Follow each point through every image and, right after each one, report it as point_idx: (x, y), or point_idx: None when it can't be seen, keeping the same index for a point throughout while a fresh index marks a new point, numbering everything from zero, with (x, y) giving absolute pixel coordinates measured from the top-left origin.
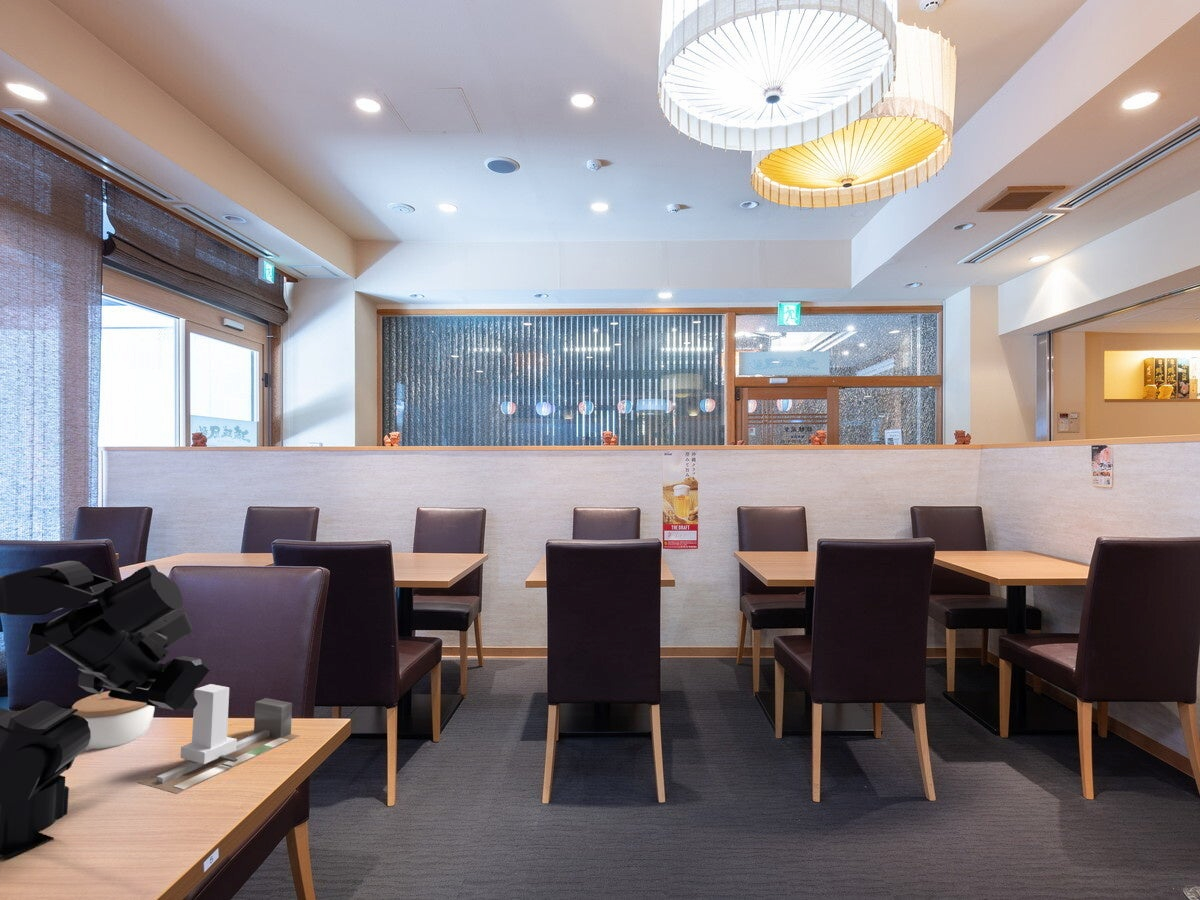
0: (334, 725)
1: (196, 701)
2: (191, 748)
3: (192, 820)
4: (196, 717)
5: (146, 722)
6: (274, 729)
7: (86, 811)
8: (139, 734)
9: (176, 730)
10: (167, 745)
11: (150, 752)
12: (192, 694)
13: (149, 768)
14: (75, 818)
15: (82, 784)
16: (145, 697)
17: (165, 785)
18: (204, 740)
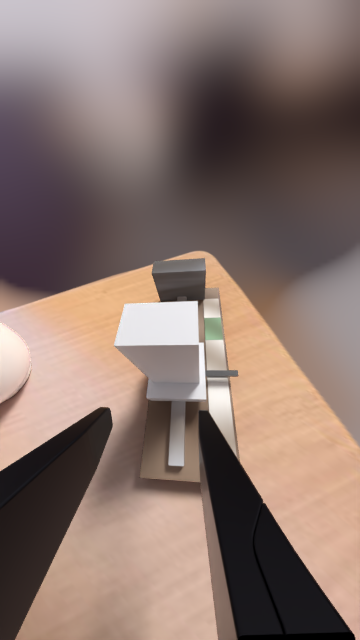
0: (208, 258)
1: (212, 418)
2: (168, 395)
3: (317, 514)
4: (150, 370)
5: (20, 350)
6: (193, 293)
7: (117, 571)
8: (27, 362)
9: (54, 320)
10: (72, 348)
11: (64, 369)
12: (236, 459)
13: (97, 402)
14: (120, 610)
15: None
16: (6, 627)
17: (194, 467)
18: (182, 380)
